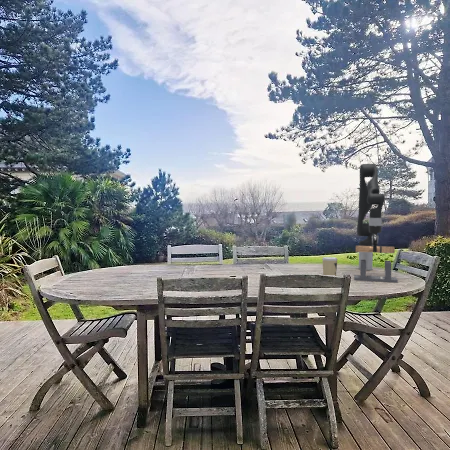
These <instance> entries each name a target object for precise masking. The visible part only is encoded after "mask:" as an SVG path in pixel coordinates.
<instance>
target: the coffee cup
mask: <svg viewBox="0 0 450 450" xmlns="http://www.w3.org/2000/svg"><path fill="white" fill-rule="evenodd" d="M321 260H322V273H323V275H335V276H336V277H337V270H338V269H337V268H338V258H337V257H334V256H333V257H332V256H331V257H330V256H325V257H322V259H321Z"/></svg>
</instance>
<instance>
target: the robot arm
mask: <svg viewBox="0 0 450 450" xmlns="http://www.w3.org/2000/svg"><path fill="white" fill-rule="evenodd" d="M378 177H379V176H378V167H377V164H375V163H362V164H361V165H360V167H359V193H358V194H359V195H358V216H357V225H356V226H357V227H356V232H357V233H356V234H357V236H358V237H366V238H365V239H362V240H360V241H359V242H358V246H373V252H358V270H361V260H366V271H373V254H374V253H376V252H377V246H379V245H378V243H379V235H378V233H379V234H381V233H382V228H383V227H382V224H383V223H382V213H383V212H382V211H383V207H384V204H385V200H386V196H385V195H384V194H383V193H380V191H381V190H380V187H379V180H378V179H379V178H378ZM366 178H370V179H369V181H368V182H367V183H366ZM375 205H377V207H373V206H375ZM372 207H373V208H372ZM368 213H369V217H368V218H369V220H368V223H364V219H365V217H366V216H367V214H368Z"/></svg>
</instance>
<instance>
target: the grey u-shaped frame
mask: <svg viewBox="0 0 450 450" xmlns="http://www.w3.org/2000/svg"><path fill="white" fill-rule="evenodd" d="M359 270H360V269H359ZM366 273H367V270H366V260H361V270H360V273H359V274H354V278H353V279H354V281H363V282H377V283H378V282H380V283H394V284H395V283H397V284H398V280H399V279H397V277H394V276H392V262H391V260H384V276H381V275H380V276H378V275H377V276H376V275H367V274H366Z"/></svg>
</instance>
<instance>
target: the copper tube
mask: <svg viewBox="0 0 450 450" xmlns="http://www.w3.org/2000/svg"><path fill="white" fill-rule="evenodd" d="M395 251H396V250H395V246H382V245H377V252H375V253H378V254H379V253H381V254H386V253H387V254H395ZM359 252H373V246H359V245H355V253H359ZM373 253H374V252H373Z"/></svg>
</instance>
